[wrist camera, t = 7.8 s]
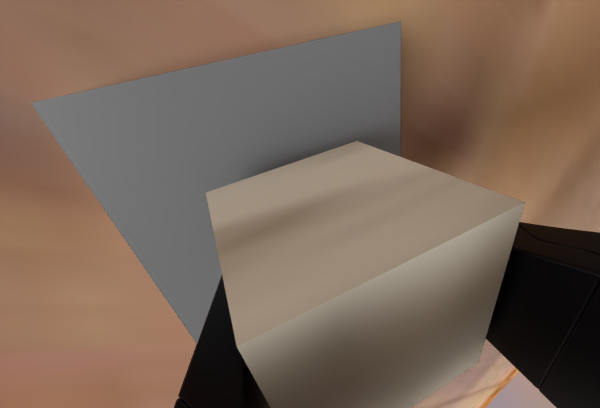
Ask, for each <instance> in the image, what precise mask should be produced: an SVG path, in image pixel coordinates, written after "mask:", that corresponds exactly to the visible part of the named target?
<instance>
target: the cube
mask: <svg viewBox="0 0 600 408" xmlns="http://www.w3.org/2000/svg"><path fill="white" fill-rule="evenodd" d="M206 197H207V202H208V207H209V212H210V217H211V222H212V227H213V232H214V237H215V242H216V247H217V252H218V257H219V262H220V267H221V272H222V276H223V281H224V286H225V291H226V296H227V301H228V306H229V311H230V316H231V321H232V326H233V331H234V336H235V341H236V346H237V348H238V350H239V352H240V354H241V355H242V357H243V359H244V361H245V363H246V364H247V366H248V368H249V370H250V372H251V373H252V375H253V377H254V379H255V381H256V382H257V384H258V386H259V388H260V389H261V391H262V393H263V395H264V397H265V398H266V400H267V402H268V404H269V406H270V407H271V408H411V407H413V406H414V405H416V404H417V403H419V402H420V401H422V400H423V399H425V398H426V397H428V396H429V395H431V394H432V393H434V392H435V391H437V390H438V389H440V388H441V387H443V386H444V385H446V384H447V383H449V382H450V381H451V380H453V379H454V378H456V377H457V376H459V375H460V374H462V373H463V372H465V371H466V370H468V369H469V368H471V367H472V366H474V365H475V364H477V363H478V362H479V359H480V355H481V352H482V349H483V345H484V342H485V338H486V335H487V331H488V328H489V324H490V321H491V318H492V314H493V311H494V307H495V304H496V300H497V297H498V294H499V290H500V287H501V283H502V280H503V276H504V273H505V270H506V266H507V263H508V259H509V256H510V252H511V249H512V245H513V242H514V239H515V235H516V232H517V228H518V225H519V221H520V218H521V215H522V211H523V208H524V204H525V202H522V201H520V200H517V199H514V198H511V197H509V196H506V195H503V194H501V193H498V192H495V191H492V190H490V189H487V188H484V187H481V186H479V185H476V184H473V183H471V182H468V181H465V180H462V179H460V178H457V177H454V176H451V175H449V174H446V173H443V172H440V171H438V170H435V169H432V168H430V167H427V166H424V165H421V164H419V163H416V162H413V161H410V160H408V159H405V158H402V157H399V156H397V155H394V154H391V153H389V152H386V151H383V150H380V149H378V148H375V147H372V146H369V145H367V144H364V143H361V142H359V141H355V142H352V143H349V144H346V145H344V146H341V147H338V148H335V149H332V150H329V151H326V152H323V153H320V154H317V155H314V156H311V157H308V158H305V159H303V160H300V161H297V162H294V163H291V164H288V165H285V166H282V167H279V168H276V169H273V170H270V171H267V172H264V173H262V174H259V175H256V176H253V177H250V178H247V179H244V180H241V181H238V182H235V183H232V184H229V185H226V186H223V187H221V188H218V189H215V190H212V191H209V192H206Z"/></svg>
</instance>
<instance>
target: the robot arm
mask: <svg viewBox="0 0 600 408" xmlns="http://www.w3.org/2000/svg"><path fill="white" fill-rule="evenodd" d="M486 339H487V340H488V341H489V342H490V343H491V344H492V345H493V346H494V347H495V348H496V349H497V350H498V351H499V352H500V353H501V354H502V355H503V356H504V357H505V358H506V359H507V360H508V361H509V362H511V363H512V364H513V365H514V366H515V367H516V368H517V369H518V370H519V371H520V372H521V373H522V374H523V375H524V376H525V377H526V378H527V379H528V380H529V381H530V382H531V383H532V384H533V385H534V386H535V387H536V388H538V389H539V391H540V392H541V393H542V394H543V395H544V396H545V397H546V398H547V399H548V400H549V401H550V402H551V403H552V404H553V405H554V406H556V407H557V408H600V233H598V232H589V231H581V230H572V229H564V228H556V227H549V226H542V225H535V224H529V223H522V222H519V225H518V228H517V232H516V235H515V239H514V242H513V245H512V249H511V252H510V256H509V259H508V263H507V266H506V270H505V273H504V276H503V280H502V283H501V287H500V290H499V294H498V297H497V300H496V304H495V307H494V311H493V314H492V318H491V321H490V324H489V328H488V331H487V335H486ZM178 396H179V399H177V400H176V403H175V406H174V408H271V407H270V406H269V404H268V402H267V400H266V398H265V397H264V395H263V393H262V391H261V389H260V388H259V386H258V384H257V382H256V381H255V379H254V377H253V375H252V373H251V372H250V370H249V368H248V366H247V364H246V363H245V361H244V359H243V357H242V355H241V354H240V352H239V350H238V348H237V346H236V341H235V336H234V331H233V326H232V321H231V316H230V311H229V306H228V301H227V296H226V291H225V286H224V281H223V276H222V275H221V278H220V281H219V284H218V286H217V289H216V292H215V295H214V298H213V300H212V303H211V306H210V309H209V312H208V314H207V317H206V320H205V323H204V325H203V328H202V331H201V334H200V337H199V339H198V342H197V345H196V348H195V350H194V353H193V356H192V359H191V362H190V364H189V367H188V370H187V373H186V376H185V378H184V381H183V384H182V387H181V389H180V392H179V395H178Z"/></svg>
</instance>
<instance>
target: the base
mask: <svg viewBox="0 0 600 408" xmlns="http://www.w3.org/2000/svg"><path fill="white" fill-rule="evenodd" d="M31 104H32V106H33V107H34V108H35V110H36V111H37V113H38V114H39V116H40V117H41V119H42V120H43V121H44V123H45V124H46V126H47V127H48V129H49V130H50V132H51V133H52V135H53V136H54V137H55V139H56V140H57V142H58V143H59V145H60V146H61V148H62V149H63V150H64V152H65V153H66V155H67V156H68V158H69V159H70V161H71V162H72V164H73V165H74V166H75V168H76V169H77V171H78V172H79V174H80V175H81V177H82V178H83V179H84V181H85V182H86V184H87V185H88V187H89V188H90V190H91V191H92V193H93V194H94V195H95V197H96V198H97V200H98V201H99V203H100V204H101V206H102V207H103V208H104V210H105V211H106V213H107V214H108V216H109V217H110V219H111V220H112V222H113V223H114V224H115V226H116V227H117V229H118V230H119V232H120V233H121V235H122V236H123V237H124V239H125V240H126V242H127V243H128V245H129V246H130V248H131V249H132V251H133V252H134V253H135V255H136V256H137V258H138V259H139V261H140V262H141V264H142V265H143V266H144V268H145V269H146V271H147V272H148V274H149V275H150V277H151V278H152V280H153V281H154V282H155V284H156V285H157V287H158V288H159V290H160V291H161V293H162V294H163V295H164V297H165V298H166V300H167V301H168V303H169V304H170V306H171V307H172V309H173V310H174V311H175V313H176V314H177V316H178V317H179V319H180V320H181V322H182V323H183V324H184V326H185V327H186V329H187V330H188V332H189V333H190V335H191V336H192V338H193V339H194V340H195V342H196V343H197V342H198V339H199V337H200V334H201V331H202V328H203V325H204V323H205V320H206V317H207V314H208V312H209V309H210V306H211V303H212V300H213V298H214V295H215V292H216V289H217V286H218V284H219V281H220V278H221V275H222V272H221V267H220V262H219V257H218V252H217V247H216V242H215V237H214V232H213V227H212V222H211V217H210V212H209V207H208V202H207V197H206V192H209V191H212V190H215V189H218V188H221V187H223V186H226V185H229V184H232V183H235V182H238V181H241V180H244V179H247V178H250V177H253V176H256V175H259V174H262V173H264V172H267V171H270V170H273V169H276V168H279V167H282V166H285V165H288V164H291V163H294V162H297V161H300V160H303V159H305V158H308V157H311V156H314V155H317V154H320V153H323V152H326V151H329V150H332V149H335V148H338V147H341V146H344V145H346V144H349V143H352V142H355V141H359V142H361V143H364V144H367V145H369V146H372V147H375V148H378V149H380V150H383V151H386V152H389V153H391V154H394V155H397V156H399V157H400V133H401V21H400V22H396V23H391V24H387V25H382V26H378V27H373V28H368V29H364V30H359V31H355V32H350V33H346V34H341V35H337V36H332V37H328V38H323V39H319V40H314V41H310V42H305V43H301V44H296V45H291V46H287V47H282V48H278V49H273V50H269V51H264V52H260V53H255V54H251V55H246V56H242V57H237V58H233V59H228V60H224V61H219V62H214V63H210V64H205V65H201V66H196V67H192V68H187V69H183V70H178V71H174V72H169V73H165V74H160V75H156V76H151V77H147V78H142V79H138V80H133V81H128V82H124V83H119V84H115V85H110V86H106V87H101V88H97V89H92V90H88V91H83V92H79V93H74V94H70V95H65V96H61V97H56V98H51V99H47V100H42V101H38V102H33V103H31Z"/></svg>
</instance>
